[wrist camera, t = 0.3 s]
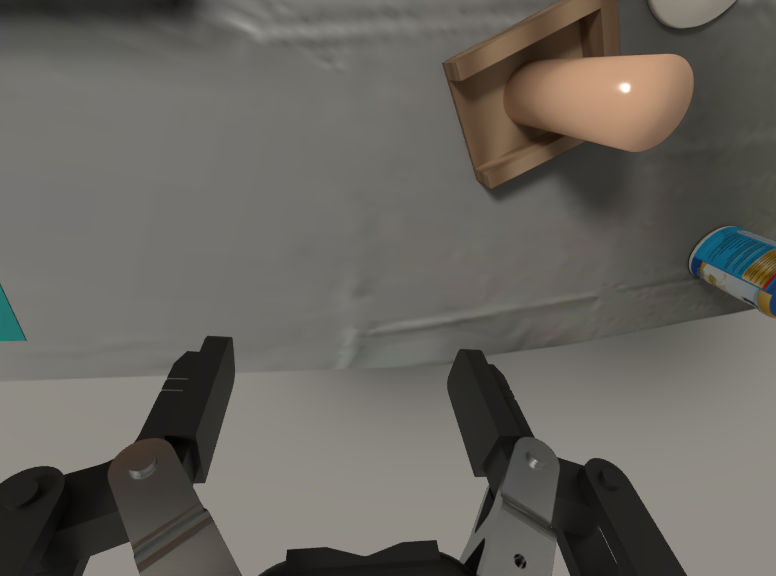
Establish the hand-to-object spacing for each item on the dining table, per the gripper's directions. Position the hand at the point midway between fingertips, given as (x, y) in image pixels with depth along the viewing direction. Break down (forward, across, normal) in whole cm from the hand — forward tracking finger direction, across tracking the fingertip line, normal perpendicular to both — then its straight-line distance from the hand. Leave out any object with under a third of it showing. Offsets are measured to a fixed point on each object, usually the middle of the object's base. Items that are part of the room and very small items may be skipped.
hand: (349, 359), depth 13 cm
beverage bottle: (+31, -55, +6) cm, 63 cm away
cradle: (+30, -18, -8) cm, 36 cm away
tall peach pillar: (+29, -19, -9) cm, 36 cm away
